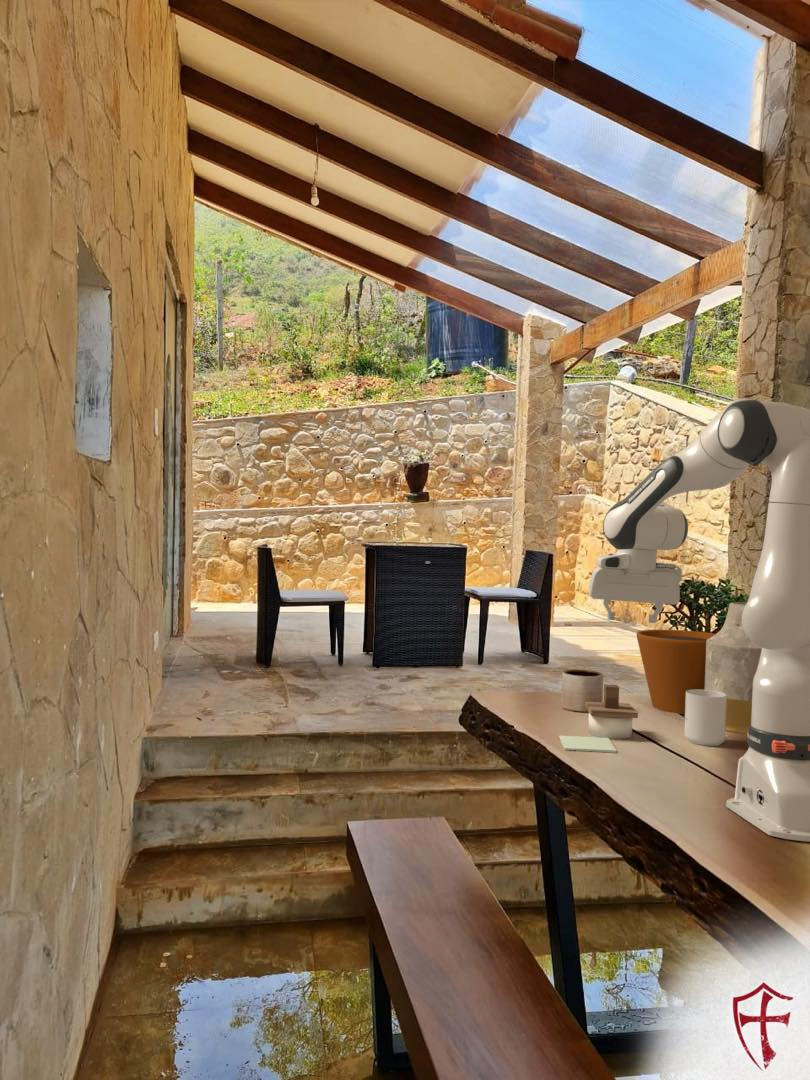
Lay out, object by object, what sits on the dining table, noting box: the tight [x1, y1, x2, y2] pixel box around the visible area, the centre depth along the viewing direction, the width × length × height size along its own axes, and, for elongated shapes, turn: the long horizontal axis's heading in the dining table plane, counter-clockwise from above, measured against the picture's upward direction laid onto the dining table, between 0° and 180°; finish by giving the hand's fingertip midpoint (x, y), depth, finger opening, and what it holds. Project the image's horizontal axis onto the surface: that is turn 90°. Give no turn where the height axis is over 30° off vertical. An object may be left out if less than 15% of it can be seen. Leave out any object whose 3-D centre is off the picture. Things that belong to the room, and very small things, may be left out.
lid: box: [585, 683, 639, 719], centre depth 200 cm, size 10×10×6 cm
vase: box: [705, 601, 762, 735], centre depth 212 cm, size 18×18×30 cm
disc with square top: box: [587, 713, 634, 740], centre depth 200 cm, size 10×10×5 cm
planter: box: [560, 669, 604, 714], centre depth 227 cm, size 11×11×10 cm
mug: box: [683, 690, 727, 747], centre depth 196 cm, size 12×9×11 cm
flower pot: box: [636, 629, 717, 715], centre depth 231 cm, size 24×24×20 cm
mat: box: [558, 735, 617, 754], centre depth 188 cm, size 11×11×1 cm
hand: (631, 621), depth 196 cm, fingers open, 8 cm apart
